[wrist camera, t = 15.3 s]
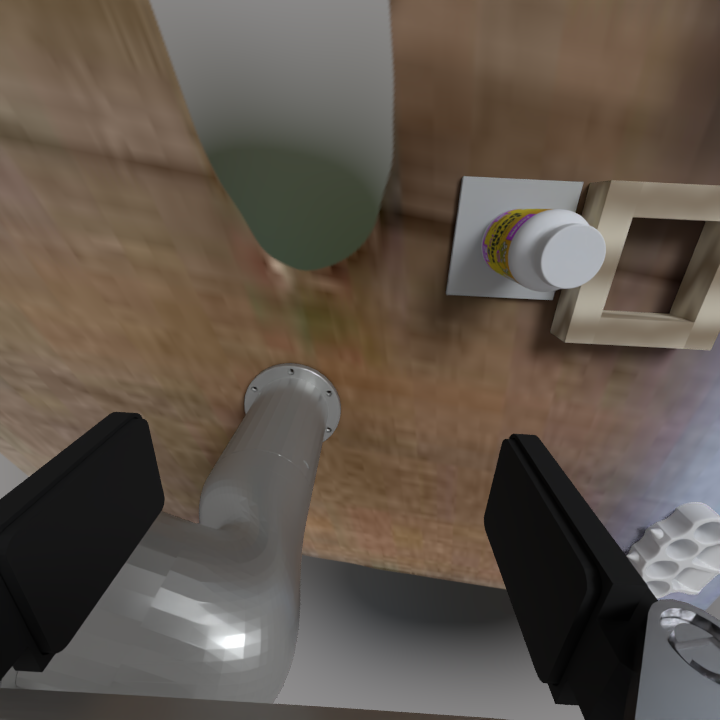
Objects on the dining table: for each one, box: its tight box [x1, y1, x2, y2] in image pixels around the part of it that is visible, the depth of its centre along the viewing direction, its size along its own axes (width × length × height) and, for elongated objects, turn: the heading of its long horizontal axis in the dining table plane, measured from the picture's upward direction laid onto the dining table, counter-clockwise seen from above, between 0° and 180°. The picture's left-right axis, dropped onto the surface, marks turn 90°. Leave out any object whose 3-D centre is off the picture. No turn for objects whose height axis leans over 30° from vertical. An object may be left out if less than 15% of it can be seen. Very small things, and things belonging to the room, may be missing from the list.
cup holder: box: [550, 180, 720, 350], centre depth 37 cm, size 16×16×4 cm
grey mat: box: [446, 176, 583, 300], centre depth 38 cm, size 12×12×1 cm
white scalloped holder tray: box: [626, 502, 720, 599], centre depth 54 cm, size 3×18×15 cm
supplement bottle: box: [481, 209, 606, 292], centre depth 32 cm, size 7×7×13 cm
